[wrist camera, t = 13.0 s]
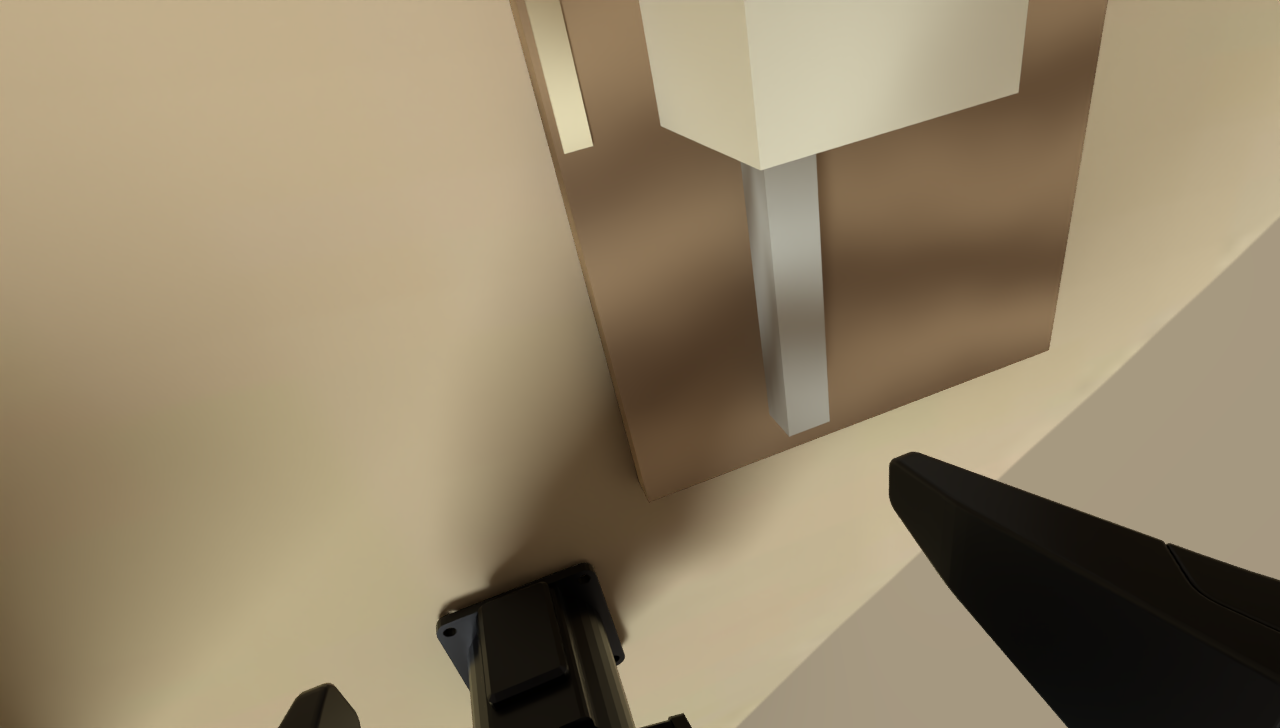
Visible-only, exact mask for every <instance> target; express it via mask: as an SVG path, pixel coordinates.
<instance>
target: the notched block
mask: <svg viewBox="0 0 1280 728" xmlns="http://www.w3.org/2000/svg"><path fill="white" fill-rule="evenodd" d="M1028 2H1029V0H639V4H640V10H641V15H642V21H643V27H644V33H645V38H646V44H647V50H648V55H649V61H650V67H651V73H652V78H653V84H654V90H655V95H656V101H657V107H658V113H659V118H660V124H661V126H662V127H664V128H666V129H668V130H671V131H673V132H675V133H677V134H680V135H682V136H684V137H686V138H689V139H691V140H693V141H695V142H698V143H700V144H702V145H704V146H707V147H709V148H711V149H713V150H716V151H718V152H720V153H722V154H725V155H727V156H729V157H731V158H734V159H736V160H738V161H740V162H743V163H745V164H747V165H749V166H752V167H754V168H756V169H758V170H764V169H767V168H771V167H774V166H777V165H780V164H784V163H787V162H790V161H794V160H797V159H800V158H804V157H807V156H810V155H814V154H817V153H820V152H824V151H827V150H830V149H834V148H837V147H840V146H843V145H847V144H850V143H853V142H857V141H860V140H863V139H867V138H870V137H873V136H877V135H880V134H883V133H887V132H890V131H893V130H897V129H900V128H903V127H906V126H910V125H913V124H916V123H920V122H923V121H926V120H930V119H933V118H936V117H940V116H943V115H946V114H950V113H953V112H956V111H960V110H963V109H966V108H969V107H973V106H976V105H979V104H983V103H986V102H989V101H993V100H996V99H999V98H1003V97H1006V96H1009V95H1013V94H1016V93H1018V92H1019V83H1020V74H1021V65H1022V56H1023V47H1024V38H1025V29H1026V20H1027V11H1028Z"/></svg>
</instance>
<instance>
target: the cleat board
mask: <svg viewBox="0 0 1280 728" xmlns="http://www.w3.org/2000/svg"><path fill="white" fill-rule="evenodd" d="M509 1H510V5H511V9H512V12H513V16H514V20H515V23H516V27H517V31H518V35H519V38H520V42H521V46H522V49H523V53H524V57H525V60H526V64H527V68H528V72H529V75H530V79H531V83H532V86H533V90H534V94H535V98H536V101H537V105H538V109H539V112H540V116H541V120H542V123H543V127H544V131H545V135H546V138H547V142H548V146H549V149H550V153H551V157H552V160H553V164H554V168H555V172H556V175H557V179H558V183H559V186H560V190H561V194H562V198H563V201H564V205H565V209H566V212H567V216H568V220H569V223H570V227H571V231H572V235H573V238H574V242H575V246H576V249H577V253H578V257H579V261H580V264H581V268H582V272H583V275H584V279H585V283H586V286H587V290H588V294H589V298H590V301H591V305H592V309H593V312H594V316H595V320H596V323H597V327H598V331H599V335H600V338H601V342H602V346H603V349H604V353H605V357H606V361H607V364H608V368H609V372H610V375H611V379H612V383H613V386H614V390H615V394H616V398H617V401H618V405H619V409H620V412H621V416H622V420H623V424H624V427H625V431H626V435H627V438H628V442H629V446H630V449H631V453H632V457H633V461H634V464H635V468H636V472H637V475H638V479H639V483H640V485H641V487H642V489H643V491H644V493H645V495H646V497H647V499H648V501H649V502H651V501H654V500H657V499H659V498H662V497H665V496H667V495H670V494H672V493H675V492H678V491H680V490H683V489H686V488H688V487H691V486H693V485H696V484H699V483H701V482H704V481H707V480H709V479H712V478H714V477H717V476H720V475H722V474H725V473H728V472H730V471H733V470H735V469H738V468H741V467H743V466H746V465H749V464H751V463H754V462H756V461H759V460H762V459H764V458H767V457H770V456H772V455H775V454H777V453H780V452H783V451H785V450H788V449H791V448H793V447H796V446H798V445H801V444H804V443H806V442H809V441H812V440H814V439H817V438H819V437H822V436H825V435H827V434H830V433H833V432H835V431H838V430H840V429H843V428H846V427H848V426H851V425H854V424H856V423H859V422H861V421H864V420H867V419H869V418H872V417H875V416H877V415H880V414H882V413H885V412H888V411H890V410H893V409H896V408H898V407H901V406H903V405H906V404H909V403H911V402H914V401H917V400H919V399H922V398H924V397H927V396H930V395H932V394H935V393H937V392H940V391H943V390H945V389H948V388H951V387H953V386H956V385H958V384H961V383H964V382H966V381H969V380H972V379H974V378H977V377H979V376H982V375H985V374H987V373H990V372H993V371H995V370H998V369H1000V368H1003V367H1006V366H1008V365H1011V364H1014V363H1016V362H1019V361H1021V360H1024V359H1027V358H1029V357H1032V356H1035V355H1037V354H1040V353H1042V352H1045V351H1048V350H1049V346H1050V340H1051V334H1052V329H1053V323H1054V317H1055V311H1056V305H1057V299H1058V293H1059V287H1060V281H1061V275H1062V269H1063V263H1064V257H1065V251H1066V245H1067V239H1068V233H1069V228H1070V222H1071V216H1072V210H1073V204H1074V198H1075V192H1076V186H1077V180H1078V174H1079V168H1080V162H1081V156H1082V150H1083V144H1084V138H1085V132H1086V127H1087V121H1088V115H1089V109H1090V103H1091V97H1092V91H1093V85H1094V79H1095V73H1096V67H1097V61H1098V55H1099V49H1100V43H1101V37H1102V31H1103V26H1104V20H1105V14H1106V8H1107V2H1108V0H1029V2H1028V11H1027V20H1026V29H1025V38H1024V47H1023V56H1022V65H1021V74H1020V83H1019V92H1018V93H1016V94H1013V95H1009V96H1006V97H1003V98H999V99H996V100H993V101H989V102H986V103H983V104H979V105H976V106H973V107H969V108H966V109H963V110H960V111H956V112H953V113H950V114H946V115H943V116H940V117H936V118H933V119H930V120H926V121H923V122H920V123H916V124H913V125H910V126H906V127H903V128H900V129H897V130H893V131H890V132H887V133H883V134H880V135H877V136H873V137H870V138H867V139H863V140H860V141H857V142H853V143H850V144H847V145H843V146H840V147H837V148H834V149H830V150H827V151H824V152H820V153H817V154H814V155H810V156H807V157H804V158H800V159H797V160H794V161H790V162H787V163H784V164H780V165H777V166H774V167H771V168H767V169H764V170H758V169H756V168H754V167H752V166H749V165H747V164H745V163H743V162H740V161H738V160H736V159H734V158H731V157H729V156H727V155H725V154H722V153H720V152H718V151H716V150H713V149H711V148H709V147H707V146H704V145H702V144H700V143H698V142H695V141H693V140H691V139H689V138H686V137H684V136H682V135H680V134H677V133H675V132H673V131H671V130H668V129H666V128H664V127H662V126H661V124H660V118H659V113H658V107H657V101H656V95H655V90H654V84H653V78H652V73H651V67H650V61H649V55H648V50H647V44H646V38H645V33H644V27H643V21H642V15H641V10H640V4H639V0H509Z"/></svg>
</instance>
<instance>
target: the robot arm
mask: <svg viewBox="0 0 1280 728" xmlns="http://www.w3.org/2000/svg"><path fill="white" fill-rule="evenodd" d="M889 498H890V502H891V505H892V507H893V509H894V510H895V512H896V513H897V515H898V516H899V517H900V519H901V520H902V522H903V523H904V525H905V526H906V528H907V529H908V531H909V532H910V533H911V535H912V536H913V538H914V539H915V541H916V542H917V544H918V545H919V546H920V548H921V549H922V551H923V552H924V554H925V555H926V557H927V558H928V559H929V561H930V562H931V564H932V565H933V567H934V568H935V570H936V571H937V572H938V574H939V575H940V577H941V578H942V579H943V580H944V582H945V583H946V585H947V586H948V588H949V589H950V590H951V591H952V592H953V594H954V595H955V596H956V597H957V599H958V600H959V601H960V602H961V603H962V604H963V605H964V607H965V608H966V609H967V610H968V611H969V612H970V614H971V615H972V616H973V617H974V618H975V620H976V621H977V622H978V623H979V624H980V625H981V626H982V628H983V629H984V630H985V631H986V633H987V634H988V635H989V636H990V637H991V638H992V639H993V641H995V643H996V644H997V645H998V646H999V647H1000V649H1001V650H1002V651H1003V652H1004V653H1005V655H1007V657H1008V658H1009V659H1010V661H1011V662H1012V663H1013V664H1014V665H1015V666H1016V667H1017V669H1018V670H1019V671H1020V672H1021V673H1022V675H1023V676H1024V677H1025V678H1026V679H1027V680H1028V682H1029V683H1030V684H1031V685H1032V686H1033V687H1034V688H1035V690H1036V691H1037V692H1038V693H1039V694H1040V696H1041V697H1042V698H1043V699H1044V700H1045V701H1046V703H1047V704H1048V705H1049V706H1050V707H1051V708H1052V710H1053V711H1054V712H1055V713H1056V714H1057V716H1058V717H1059V718H1060V719H1061V720H1062V721H1063V723H1065V725H1066V726H1067V727H1068V728H1280V580H1277V579H1274V578H1271V577H1268V576H1264V575H1261V574H1258V573H1255V572H1251V571H1248V570H1246V569H1243V568H1240V567H1237V566H1234V565H1231V564H1228V563H1225V562H1222V561H1219V560H1216V559H1213V558H1211V557H1208V556H1204V555H1202V554H1199V553H1196V552H1193V551H1191V550H1188V549H1185V548H1182V547H1179V546H1176V545H1174V544H1171V543H1168V544H1165V543H1164V541H1162V540H1159V539H1157V538H1154V537H1151V536H1149V535H1146V534H1143V533H1140V532H1137V531H1135V530H1132V529H1129V528H1126V527H1124V526H1120V525H1118V524H1115V523H1112V522H1110V521H1107V520H1104V519H1101V518H1099V517H1095V516H1093V515H1090V514H1087V513H1085V512H1082V511H1079V510H1076V509H1073V508H1071V507H1068V506H1065V505H1062V504H1060V503H1057V502H1054V501H1051V500H1049V499H1046V498H1043V497H1040V496H1038V495H1035V494H1032V493H1029V492H1026V491H1024V490H1021V489H1018V488H1015V487H1013V486H1010V485H1007V484H1004V483H1001V482H999V481H996V480H993V479H990V478H988V477H985V476H982V475H979V474H977V473H974V472H971V471H968V470H966V469H963V468H960V467H957V466H954V465H952V464H949V463H946V462H943V461H941V460H938V459H935V458H932V457H929V456H927V455H924V454H921V453H918V452H909V453H907V454H904V455H902V456H899V457H897V458H894V459H893V460H892V461H891V462H890V465H889ZM582 575H585V576H582ZM580 576H582V577H580ZM447 628H450V629H447ZM436 634H437V638H438V639H439V641H440V643H441V644H442V646H443V648H444V649H445V651H446V652H447V654H448V656H449V657H450V659H451V661H452V662H453V664H454V666H455V667H456V669H457V671H458V672H459V674H460V676H461V677H462V679H463V681H464V682H465V684H466V686H467V687H468V689H469V691H470V696H471V709H472V721H473V728H635V724H634V721H633V718H632V715H631V711H630V708H629V705H628V702H627V699H626V695H625V692H624V689H623V686H622V682H621V679H620V676H619V673H618V670H617V665H619V664H621V663H622V662H623V660H624V658H625V654H624V651H623V648H622V646H621V643H620V640H619V637H618V634H617V631H616V629H615V626H614V623H613V620H612V617H611V615H610V612H609V609H608V606H607V603H606V601H605V598H604V595H603V592H602V589H601V587H600V584H599V581H598V578H597V575H596V572H595V570H594V567H593V566H592V565H591V564H589V563H581V564H577V565H575V566H572V567H570V568H567V569H565V570H562V571H559V572H557V573H554V574H552V575H549V576H547V577H544V578H542V579H539V580H536V581H534V582H531V583H529V584H526V585H524V586H521V587H518V588H516V589H513V590H511V591H508V592H506V593H503V594H501V595H498V596H495V597H493V598H490V599H488V600H485V601H483V602H480V603H477V604H475V605H472V606H470V607H467V608H465V609H462V610H459V611H457V612H454V613H452V614H449V615H447V616H444V617H443V618H441V619H440V620H439V621H438V622H437V625H436ZM278 728H361V727H360V722H359V719H358V716H357V714H356V712H355V710H354V709H353V708H352V707H351V705H350V704H349V703H348V702H347V700H346V699H345V698H344V697H343V695H342V694H341V693H340V692H339V690H338V689H337V688H336V687H335V686H334V685H333V684H331V683H324V684H322V685H319V686H317V687H314V688H312V689H309V690H306V691H304V692H302V693H301V694H300V695H299V696H298V697H297V698H296V699H295V701H294V702H293V704H292V706H291V707H290V709H289V711H288V712H287V714H286V716H285V717H284V719H283V721H282V722H281V724H280V726H279V727H278ZM641 728H692V727H691V726H690V724H689V722H688V720H687V718H686V717H685V715H684V714H683V713H682V714H678V715H674V716H671V717H669V718H668V720H667V721H663V722H659V723H656V724H652V725H648V726H645V727H641Z"/></svg>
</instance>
